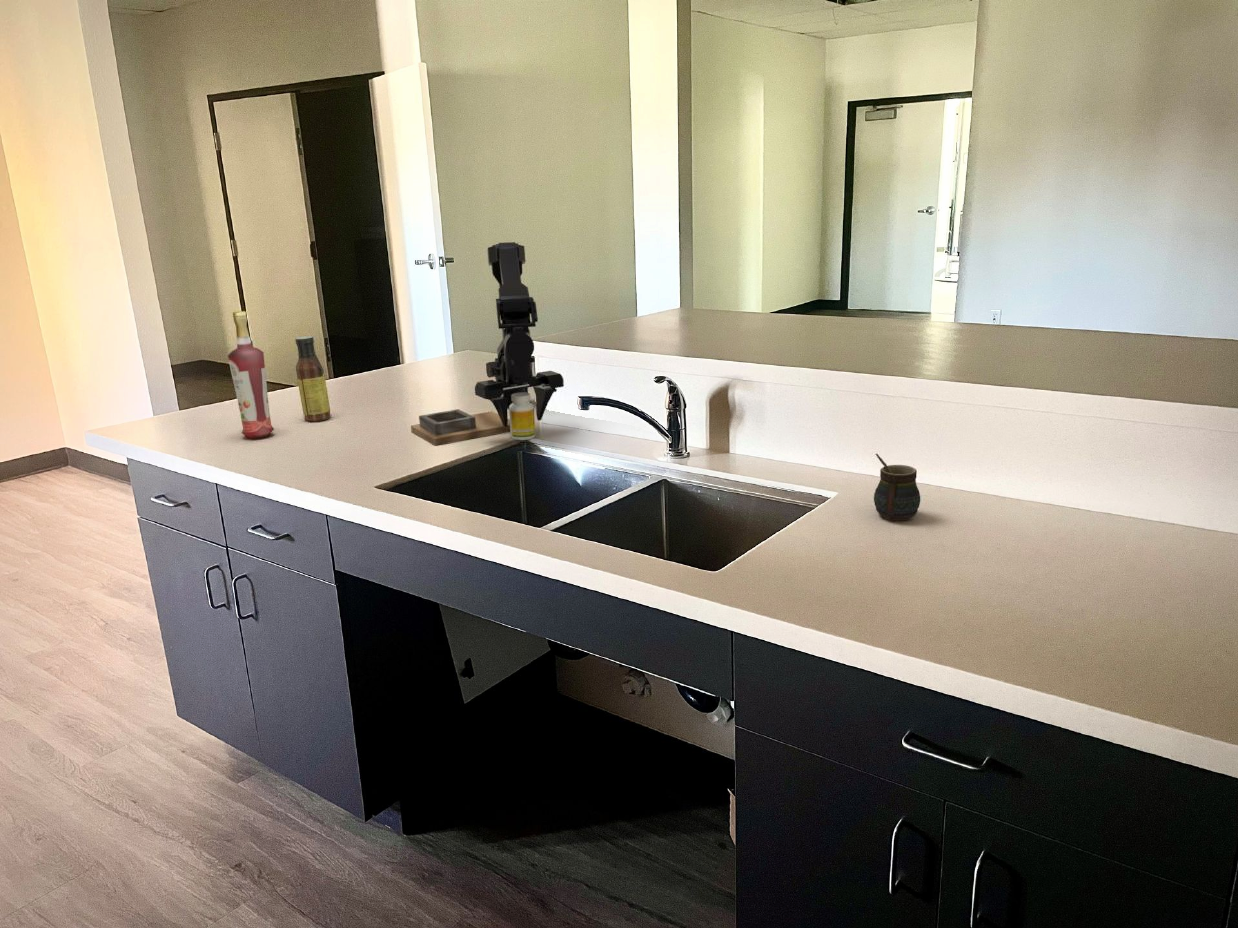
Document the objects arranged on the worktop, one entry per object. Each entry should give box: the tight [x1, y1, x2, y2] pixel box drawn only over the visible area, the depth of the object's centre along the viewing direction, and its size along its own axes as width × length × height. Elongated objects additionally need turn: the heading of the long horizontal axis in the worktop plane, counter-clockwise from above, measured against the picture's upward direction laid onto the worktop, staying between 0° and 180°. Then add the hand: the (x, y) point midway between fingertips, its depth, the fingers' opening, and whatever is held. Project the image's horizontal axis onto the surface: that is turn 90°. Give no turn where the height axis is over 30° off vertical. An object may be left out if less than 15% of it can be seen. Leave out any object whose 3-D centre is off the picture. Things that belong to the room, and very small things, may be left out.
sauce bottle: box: [294, 335, 331, 422], centre depth 214 cm, size 6×6×20 cm
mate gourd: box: [873, 453, 921, 522], centre depth 144 cm, size 7×8×10 cm
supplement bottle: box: [508, 392, 536, 441], centre depth 195 cm, size 5×5×10 cm
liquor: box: [227, 310, 275, 440], centre depth 200 cm, size 7×7×28 cm
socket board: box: [410, 408, 511, 447], centre depth 202 cm, size 20×14×4 cm
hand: (522, 423), depth 195 cm, fingers open, 8 cm apart
